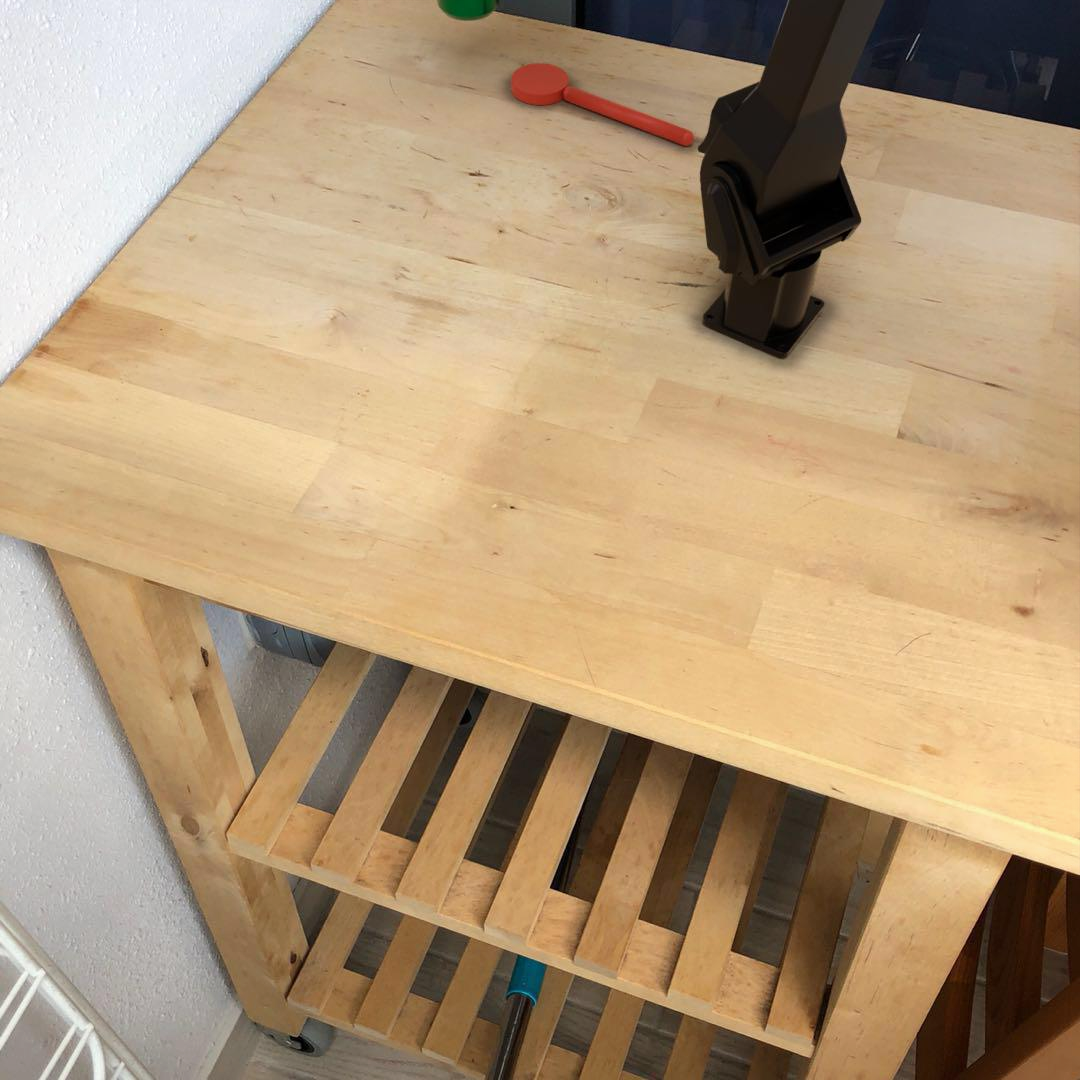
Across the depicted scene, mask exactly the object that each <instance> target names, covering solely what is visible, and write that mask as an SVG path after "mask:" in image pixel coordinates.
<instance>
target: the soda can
mask: <svg viewBox="0 0 1080 1080" xmlns="http://www.w3.org/2000/svg"><path fill="white" fill-rule="evenodd" d="M436 4H437V7H438V8H439V9H440V10H441V12H442V13H443V14H444V15H445V16H447V17H449V18H450V19H453V20H457V21H464V22H471V21H472V22H473V21H478V20H482V19H486V18H487V17H489V16H490V15H492V14H493V13H494V12H495V11H496V9H497V8H498V6H499V4H500V0H436Z"/></svg>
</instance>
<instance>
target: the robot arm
mask: <svg viewBox="0 0 1080 1080" xmlns="http://www.w3.org/2000/svg"><path fill="white" fill-rule="evenodd" d="M885 1H886V0H787V3H786V6H785V9H784V11H783V14H782V17H781V20H780V23H779V26H778V29H777V32H776V34H775V37H774V40H773V42H772V46H771V49H770V52H769V54H768V56H767V60H766V61H765V62H766V63H765V66H764V68H763V72H762V73H761V76H760V79H759V81H757V82H754V83H752V84H750V85H749V84H748V85H747V86H744V87H742V88H739V89H737V90H734V91H732V92H729V93H727V94H724V95H722V96H720V97H718V98H717V99H716V101H715V103H714V105H713V107H712V109H711V111H710V115H709V116H710V118H709V123H708V129H707V133H706V134H705V137H704V139H703V141H701V143H700V144H699V145H698V146H697V151H698V152H699V154H700V153H701V154H703V156H702V159H701V164H700V170H699V183H700V194H701V205H702V213H703V223H704V232H705V239H706V241H705V242H706V247H707V249H708V250H709V251H710V252H711V253H712V254H713V255H714V256H716V257H717V260H718V269H719V270H720V271H721V272H722V273H724V274H725V275H726V274H727V279H726V285H725V289H724V290H723V291H722V293H720V295H719V296H718V297H717V298H716V299H715V300H714V302H713V303H712V304H711V305H710V306H709V307H708V308H707V309H706V311H705V312H704V313H703V315H702V319H701V322H702V324H703V325H704V326H706V327H709V328H710V329H712V330H715V331H718V332H720V333H723V334H725V335H727V336H729V337H731V338H734V339H736V340H738V341H740V342H743V343H745V344H747V345H750V346H753V347H755V348H757V349H759V350H761V351H764V352H766V353H769V354H771V355H773V356H776V357H778V358H786V357H788V356H789V354H790V353H791V352H792V351H793V349H794V348H795V347H796V346H797V344H798V343H799V342H800V341H801V339H802V338H803V337H804V335H805V334H806V332H807V331H808V330H809V328H810V327H811V326H812V325H813V323H814V322H815V321H816V320H817V318H818V317H819V316H820V314H821V313H822V312H823V310H824V307H825V301H824V300H823V299H821V298H819V297H816V296H814V295H812V291H813V287H814V284H815V280H816V276H817V272H818V267H819V263H820V258H821V255H822V252H823V250H826V249H828V248H829V247H831V246H834V245H836V244H838V243H840V242H845V241H847V240H849V239H850V238H851V237H852V236H853V234H854V233H855V231H856V230H857V229H858V228H859V226H860V225H861V224H862V217H861V214H860V211H859V208H858V206H857V203H856V201H855V197H854V195H853V192H852V189H851V187H850V184H849V181H848V179H847V176H846V173H845V170H844V167H843V165H842V161H843V157H844V154H845V149H846V144H847V142H848V132H847V128H846V124H845V121H844V117H843V113H842V109H841V104H842V100H843V98H844V95H845V92H846V90H847V89H848V86H849V84H850V81H851V79H852V76H853V74H854V72H855V70H856V67H857V66H858V63H859V62H860V59H861V56H862V54H863V52H864V49H865V48H866V44H867V42H868V40H869V37H870V36H871V33H872V31H873V28H874V26H875V24H876V22H877V19H878V17H879V15H880V12H881V10H882V8H883V6H884V3H885Z"/></svg>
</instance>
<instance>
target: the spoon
mask: <svg viewBox="0 0 1080 1080" xmlns="http://www.w3.org/2000/svg"><path fill="white" fill-rule="evenodd" d="M510 81H511V82H510V84H511V85H510V87H511V89H510V90H511V94H512V95H513V96H514V97H515V98H516V99H517V100H519V101H521V102H522V103H526V104H528V105H533V106H547V105H552V104H556V103H558V102H561V101H562V100H563V99H564V100H565V101H566V102H568V103H570V104H573V105H576V106H579V107H581V108H584V109H586V110H589V111H591V112H594V113H597V114H600V115H603V116H605V117H608V118H610V119H613V120H616V121H618V122H621V123H624V124H626V125H628V126H632V127H634V128H636V129H639V130H642V131H644V132H647V133H650V134H653V135H655V136H658V137H661V138H663V139H666V140H668V141H671V142H674V143H676V144H679V145H681V146H684V147H685V146H686V147H687V146H690V145H692V143H694V138H695V136H694V134H693V133H694V132H692V131H691V130H689V129H686V128H684V127H681V126H678V125H676V124H673V123H671V122H668V121H665V120H662V119H660V118H657V117H655V116H652V115H649V114H647V113H644V112H641V111H639V110H635V109H633V108H630V107H628V106H625V105H622V104H620V103H618V102H614V101H611V100H609V99H606V98H604V97H601V96H598V95H595V94H593V93H590V92H588V91H585V90H582V89H580V88H576V87H574V86H572V85H571V86H570V84H569V81H570V79H569V75H568V73H567V72H566V71H565V70H564V69H562V68H561V67H560V66H557V65H554V64H550V63H545V62H533V63H528V64H525V65H522V66H520V67H518V68H516V69H515V70H514V72H513V73H512V74H511V78H510Z"/></svg>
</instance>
